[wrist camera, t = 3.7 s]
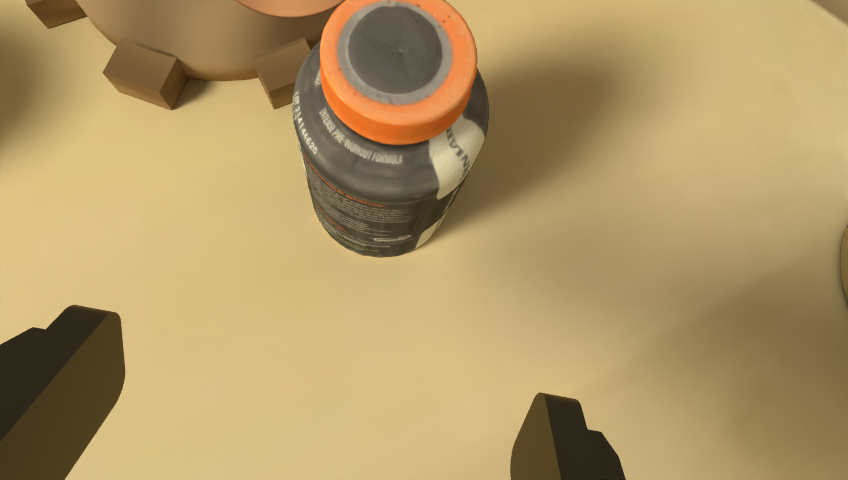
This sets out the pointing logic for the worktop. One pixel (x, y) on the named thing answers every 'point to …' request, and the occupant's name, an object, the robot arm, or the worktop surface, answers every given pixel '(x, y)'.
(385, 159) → the pill bottle
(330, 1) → the sprocket
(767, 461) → the worktop surface
